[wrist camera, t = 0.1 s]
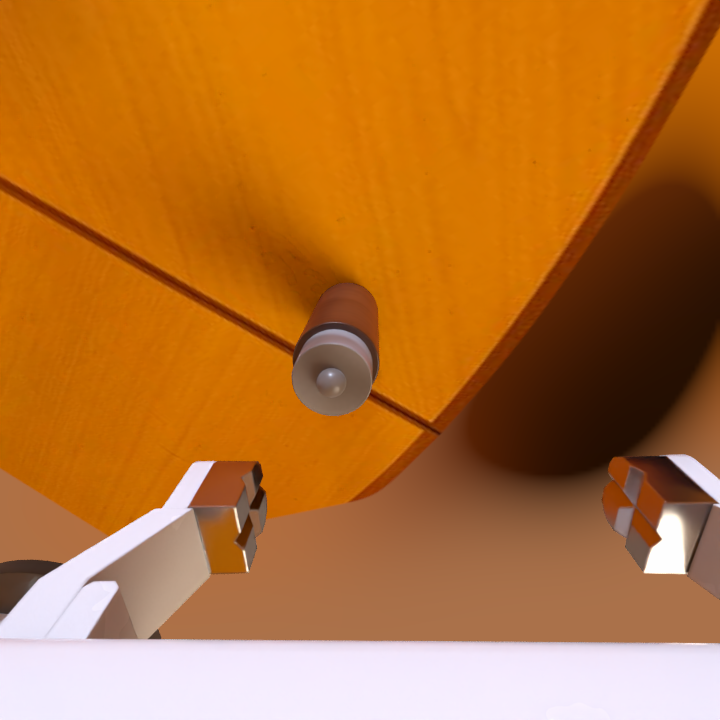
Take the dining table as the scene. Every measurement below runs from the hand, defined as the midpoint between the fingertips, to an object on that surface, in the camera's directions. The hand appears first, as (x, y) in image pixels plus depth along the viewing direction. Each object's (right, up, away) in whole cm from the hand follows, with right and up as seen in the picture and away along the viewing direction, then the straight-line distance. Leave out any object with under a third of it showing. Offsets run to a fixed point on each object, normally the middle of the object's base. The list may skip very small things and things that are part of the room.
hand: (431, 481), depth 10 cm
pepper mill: (-3, +7, +25) cm, 26 cm away
